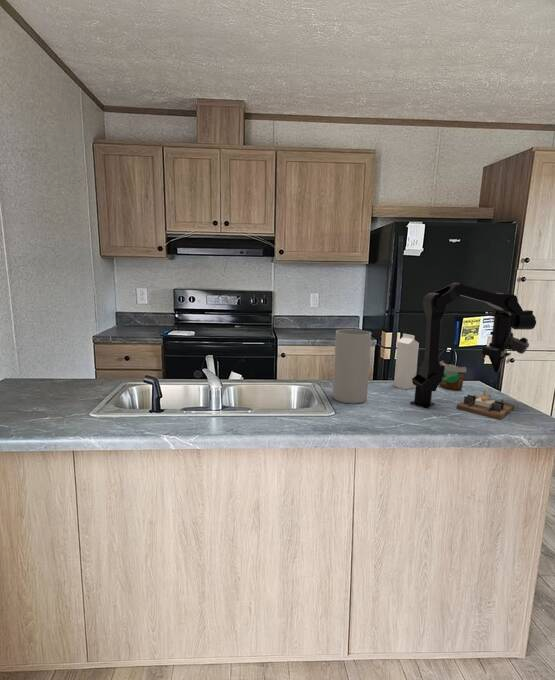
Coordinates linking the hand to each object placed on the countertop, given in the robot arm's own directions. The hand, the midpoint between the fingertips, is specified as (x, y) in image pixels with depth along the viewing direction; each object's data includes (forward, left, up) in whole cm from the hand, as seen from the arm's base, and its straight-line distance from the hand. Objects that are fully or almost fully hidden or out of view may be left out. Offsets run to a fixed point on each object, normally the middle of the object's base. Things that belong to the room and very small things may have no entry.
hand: (496, 372), depth 142 cm
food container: (+8, +20, -12) cm, 25 cm away
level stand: (-8, 0, -12) cm, 15 cm away
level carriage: (-9, 0, -10) cm, 13 cm away
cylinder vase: (-35, +38, -12) cm, 53 cm away
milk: (-5, +32, -12) cm, 35 cm away
